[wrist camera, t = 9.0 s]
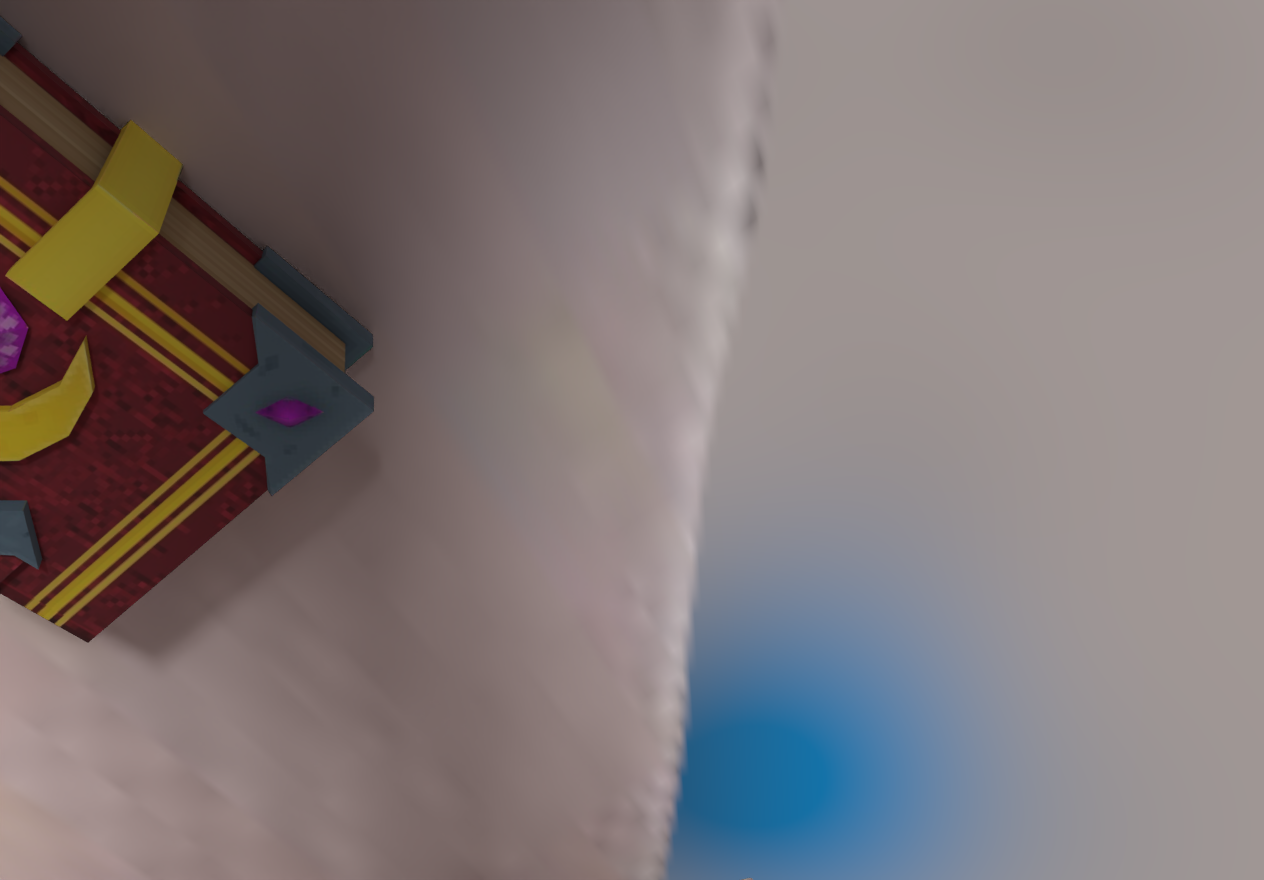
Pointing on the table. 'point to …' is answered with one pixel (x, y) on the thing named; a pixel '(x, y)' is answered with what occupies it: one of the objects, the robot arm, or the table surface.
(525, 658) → the table surface
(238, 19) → the table surface
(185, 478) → the decorative book
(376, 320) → the table surface
